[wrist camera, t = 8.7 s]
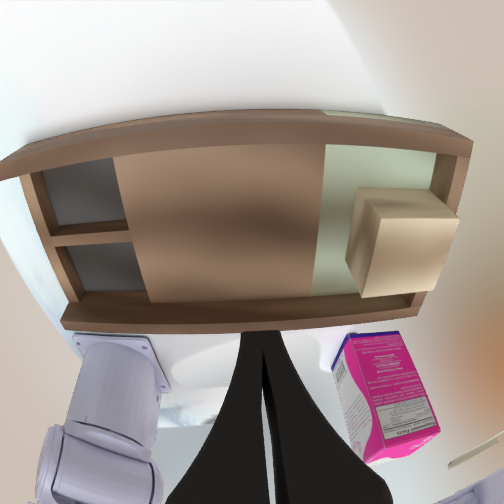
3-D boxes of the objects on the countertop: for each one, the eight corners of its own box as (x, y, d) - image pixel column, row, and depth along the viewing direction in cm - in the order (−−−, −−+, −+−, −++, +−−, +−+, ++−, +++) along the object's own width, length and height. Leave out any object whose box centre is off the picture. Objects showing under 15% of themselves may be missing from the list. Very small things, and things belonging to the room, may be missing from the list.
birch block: (410, 255, 19) (433, 290, 16) (344, 259, 19) (361, 298, 16) (428, 189, 16) (459, 218, 13) (356, 187, 16) (381, 218, 13)
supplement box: (380, 363, 30) (409, 457, 20) (329, 367, 29) (351, 471, 20) (401, 328, 26) (443, 433, 17) (346, 332, 26) (380, 451, 16)
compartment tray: (399, 284, 23) (416, 315, 20) (79, 298, 22) (65, 329, 19) (439, 123, 15) (473, 141, 12) (25, 145, 14) (-7, 165, 12)
